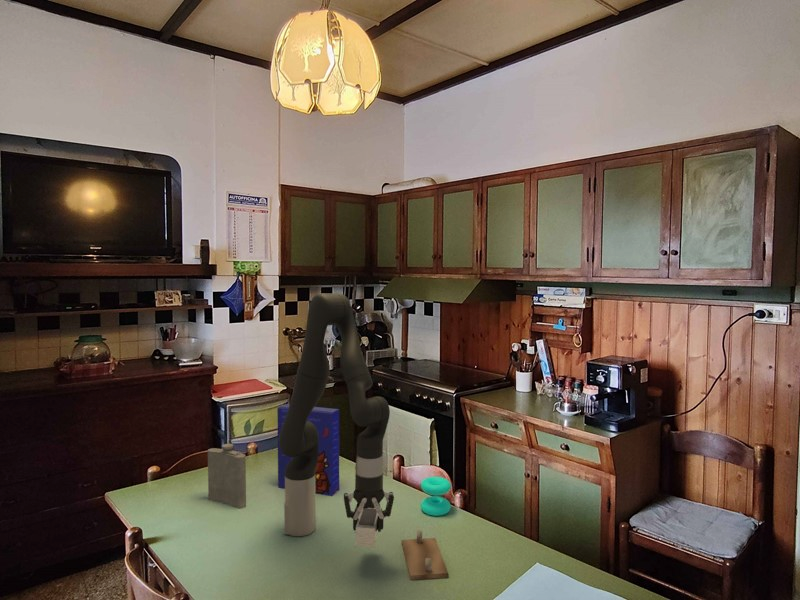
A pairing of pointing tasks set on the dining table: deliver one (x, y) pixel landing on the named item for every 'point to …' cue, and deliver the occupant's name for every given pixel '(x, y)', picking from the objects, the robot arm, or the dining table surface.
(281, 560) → the dining table surface
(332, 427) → the cereal box
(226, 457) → the hip flask
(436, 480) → the donuts
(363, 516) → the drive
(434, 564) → the pin tray
